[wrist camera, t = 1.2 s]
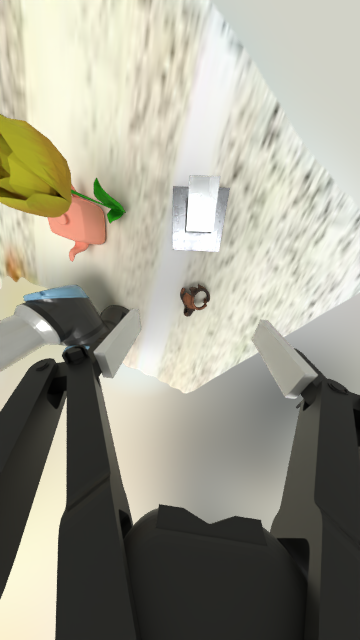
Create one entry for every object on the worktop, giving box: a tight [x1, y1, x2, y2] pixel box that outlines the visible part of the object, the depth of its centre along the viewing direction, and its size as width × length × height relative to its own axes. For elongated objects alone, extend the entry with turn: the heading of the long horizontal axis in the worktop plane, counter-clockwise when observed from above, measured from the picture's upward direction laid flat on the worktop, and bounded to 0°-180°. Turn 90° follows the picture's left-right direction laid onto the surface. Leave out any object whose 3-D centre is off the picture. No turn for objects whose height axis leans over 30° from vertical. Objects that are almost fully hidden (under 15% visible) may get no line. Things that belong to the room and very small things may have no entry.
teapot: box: [48, 184, 105, 261], centre depth 36 cm, size 12×18×10 cm, turn 167°
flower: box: [0, 114, 126, 223], centre depth 25 cm, size 9×8×30 cm
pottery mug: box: [180, 284, 210, 316], centre depth 48 cm, size 12×10×8 cm
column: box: [187, 176, 220, 232], centre depth 28 cm, size 4×6×21 cm
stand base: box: [173, 186, 230, 252], centre depth 33 cm, size 14×14×12 cm
